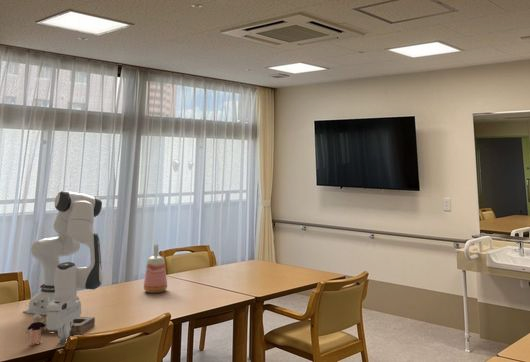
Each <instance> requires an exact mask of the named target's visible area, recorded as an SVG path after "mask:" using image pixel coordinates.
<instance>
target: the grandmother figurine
mask: <svg viewBox="0 0 530 362" xmlns="http://www.w3.org/2000/svg"><path fill="white" fill-rule="evenodd" d="M40 320H42V316H41V315H40V314H34V315H33V316H32V321H33V322H32V323H31V324H29V326H28V327H27V329H26V331H25V334H29V332H30V339H29V340H30V341H29V342H30V343H29V345H34V346H35V345H36V344H38V343H41V337H42V336H41V335H42V332H41V329H40V327H43V328H44V330H46V329H47V328H46V326H45V324H44V323H42V322H43V321H40ZM41 344H42V343H41Z"/></svg>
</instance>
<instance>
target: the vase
mask: <svg viewBox="0 0 530 362" xmlns="http://www.w3.org/2000/svg"><path fill="white" fill-rule="evenodd" d="M145 267H146V268H145V269H146V270H145V274H144V281H143V290H144V291H145V292H147V293H148V294H150V293H151V294H159V293H163V292H164V291H166V290H167V288H168V279H167V278H168V277H167V271H166V261H165V258H164V257H163V256H162V255H160V254H159V244H157V243H154V244H153V255H151V256H149V257H148V258H147V261H146V266H145Z"/></svg>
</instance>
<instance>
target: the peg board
mask: <svg viewBox="0 0 530 362" xmlns="http://www.w3.org/2000/svg"><path fill="white" fill-rule="evenodd" d="M95 320H96V319H95V317H91V316H79V317H78V318H76V319H74V320H73V324H72V327H71V331H70V335H76V334H81V335H83V334H84V333H86V332H88V331H89V330H90V329H92V328H93V327H95ZM41 322H42V323H44V324H45V326H46V320H44V321H41ZM46 328H47V327H46ZM40 329H41V333H43V332H54V333H53V334H58V331H57V329H56V330H48V329H46V330H44V328H43V327H40Z"/></svg>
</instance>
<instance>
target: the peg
mask: <svg viewBox="0 0 530 362" xmlns="http://www.w3.org/2000/svg"><path fill="white" fill-rule="evenodd" d="M62 330H63V331H64V335H63V336H58V337H59V339H58V340H59V341H58V342H60V343H65V342H66V339H67V338H68V337H69V336H70V337H71V334H70V319H68V323H67V324H65V325H63V328H62ZM60 343H59V344H60Z"/></svg>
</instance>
